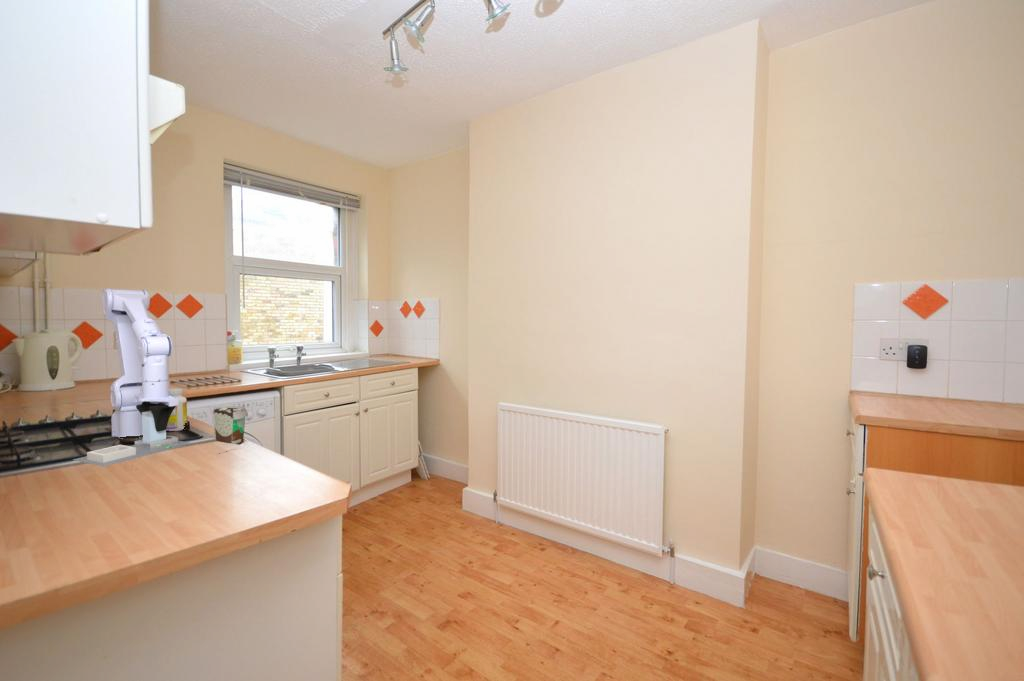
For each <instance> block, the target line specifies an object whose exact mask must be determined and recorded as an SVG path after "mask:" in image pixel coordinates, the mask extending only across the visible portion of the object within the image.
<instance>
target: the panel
mask: <svg viewBox="0 0 1024 681" xmlns="http://www.w3.org/2000/svg"><path fill="white" fill-rule="evenodd" d="M192 444H193V442H189V441H183V440H178V444H175V445H171V448H166V447H163V448H159V449H155V450H151V451H149V450H144V449H138V448H136V455H132V456H128V457H124V458H120V459H116V460H112V461H108V462H105V463H102V462H97V461H92V460H87V455H86V456H82V457H78V458H73V459H72V461H75V462H76V461H77V462H81V463H86V464H91V465H94V466H95V465H96V466H99V467H108V466H112V465H115V464H119V463H123V462H127V461H130V460H134V459H139V458H141V457H142V458H143V457H145V456H149V455H153V454H157V453H161V452H164V451H169V450H171V449H176V448H180V447H185V446H187V445H192ZM129 446H130V447H135V444H133V445H129Z"/></svg>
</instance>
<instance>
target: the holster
mask: <svg viewBox="0 0 1024 681" xmlns="http://www.w3.org/2000/svg"><path fill="white" fill-rule="evenodd" d="M130 446H131V445H123V444H117V445H113V446H109V447H105V448H99V449H96V450H90V451H87V452H86V456H87V460H92V461H97V462H102V463H105V462H108V461H112V460H116V459H120V458H124V457H128V456H132V455H136V447H130Z"/></svg>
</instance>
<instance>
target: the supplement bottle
mask: <svg viewBox="0 0 1024 681" xmlns="http://www.w3.org/2000/svg"><path fill="white" fill-rule="evenodd" d="M183 390H184V389H183V388H169V395H170V396H172V397H175V398H178V404H179V405H177V406H176V407H175V408H174V410H173V411H172V413H171V415H170V418H169V421H168V424H167V428H166V430H169V431H175V432H180V431H184V430H185V429H184V427H185V426H184V425H185V423H187V424H188V404H187V402H188V400H187V398H186V397H185V396H183V392H184V391H183ZM183 429H184V430H183Z"/></svg>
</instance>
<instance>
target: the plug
mask: <svg viewBox="0 0 1024 681" xmlns="http://www.w3.org/2000/svg"><path fill="white" fill-rule="evenodd" d="M142 433H143V437H142V439H143V441H144V442H150V443H153V442H157V441H161V440H165V439H166V435H167V432H166V430H164V431H159V432H157V431H156V429H155V422H154V417H153V414H152V412H151V411H146V412H142Z"/></svg>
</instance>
